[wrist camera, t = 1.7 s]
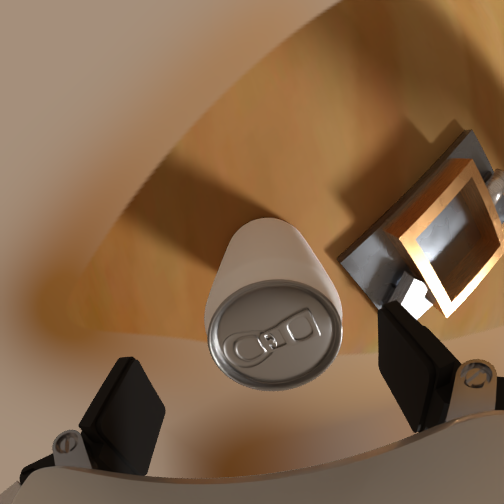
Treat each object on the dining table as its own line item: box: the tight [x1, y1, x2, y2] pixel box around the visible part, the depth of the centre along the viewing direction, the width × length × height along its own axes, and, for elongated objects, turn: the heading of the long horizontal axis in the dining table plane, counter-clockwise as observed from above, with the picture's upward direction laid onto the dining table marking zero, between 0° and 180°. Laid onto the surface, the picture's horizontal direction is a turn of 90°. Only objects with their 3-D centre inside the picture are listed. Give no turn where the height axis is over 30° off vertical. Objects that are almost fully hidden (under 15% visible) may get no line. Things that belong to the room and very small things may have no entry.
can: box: [204, 218, 343, 391], centre depth 17 cm, size 6×6×12 cm
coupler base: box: [337, 130, 504, 320], centre depth 20 cm, size 18×10×4 cm, turn 134°
